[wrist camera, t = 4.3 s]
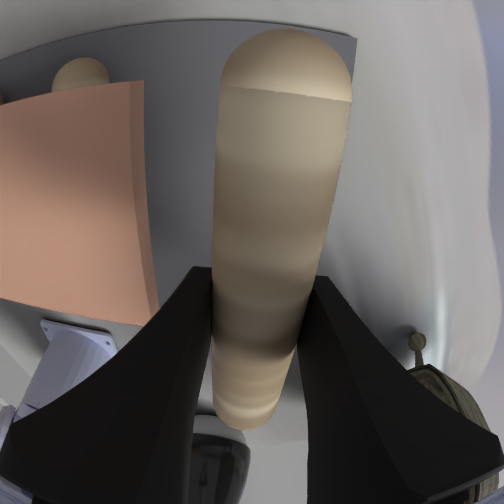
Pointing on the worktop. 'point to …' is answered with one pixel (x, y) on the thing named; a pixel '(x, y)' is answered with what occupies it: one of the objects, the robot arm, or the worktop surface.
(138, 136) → the slab
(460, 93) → the worktop surface
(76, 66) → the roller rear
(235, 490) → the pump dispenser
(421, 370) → the tabletop clock
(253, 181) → the roller
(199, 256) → the mat
